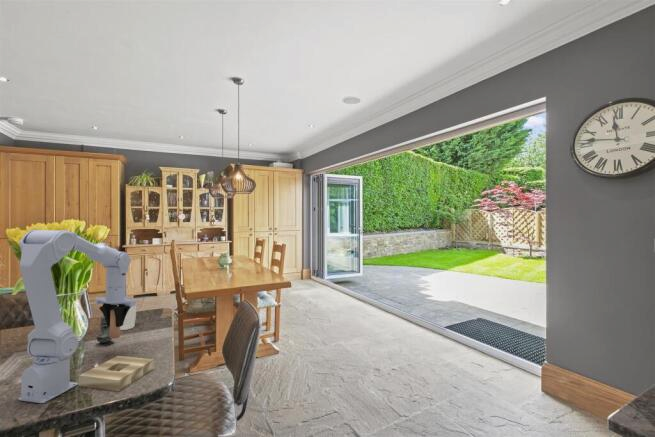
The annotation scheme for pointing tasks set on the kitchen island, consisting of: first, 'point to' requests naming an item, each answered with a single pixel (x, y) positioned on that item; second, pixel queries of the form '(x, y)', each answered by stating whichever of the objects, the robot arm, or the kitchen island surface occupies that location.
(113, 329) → the peg
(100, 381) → the socket block
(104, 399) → the kitchen island surface
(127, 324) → the white cup
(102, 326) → the chess piece
